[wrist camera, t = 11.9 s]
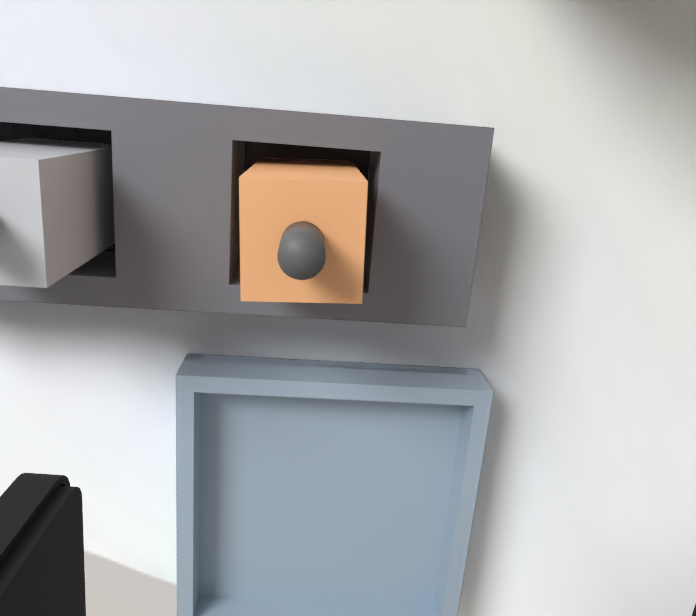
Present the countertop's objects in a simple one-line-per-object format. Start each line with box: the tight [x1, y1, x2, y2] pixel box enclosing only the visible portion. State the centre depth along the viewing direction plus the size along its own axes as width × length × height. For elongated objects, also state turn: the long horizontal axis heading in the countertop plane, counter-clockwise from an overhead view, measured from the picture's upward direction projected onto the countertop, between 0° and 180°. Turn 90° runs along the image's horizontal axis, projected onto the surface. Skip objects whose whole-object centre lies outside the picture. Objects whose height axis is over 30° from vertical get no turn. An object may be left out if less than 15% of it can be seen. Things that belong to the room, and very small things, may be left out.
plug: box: [239, 157, 368, 304], centre depth 23 cm, size 4×4×11 cm
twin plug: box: [0, 138, 115, 288], centre depth 22 cm, size 4×4×11 cm
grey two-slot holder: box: [0, 87, 494, 327], centre depth 26 cm, size 24×8×4 cm, turn 86°
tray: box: [176, 354, 494, 616], centre depth 32 cm, size 15×15×3 cm
